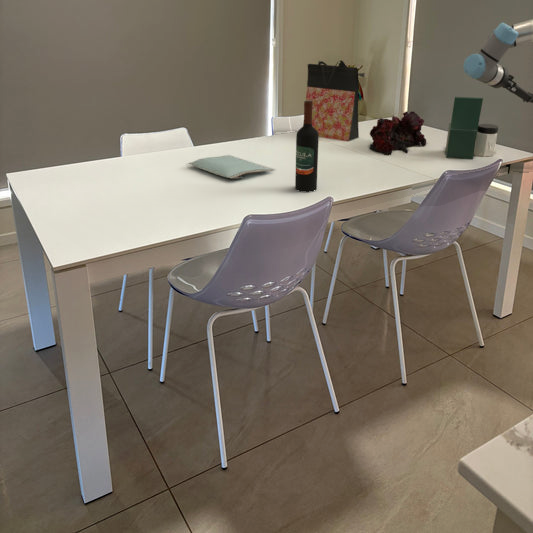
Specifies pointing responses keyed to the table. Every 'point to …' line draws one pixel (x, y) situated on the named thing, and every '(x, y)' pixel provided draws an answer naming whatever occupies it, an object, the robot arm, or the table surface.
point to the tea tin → (460, 143)
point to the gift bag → (334, 100)
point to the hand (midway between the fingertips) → (522, 89)
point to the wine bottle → (307, 153)
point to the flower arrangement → (397, 134)
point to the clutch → (228, 166)
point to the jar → (485, 140)
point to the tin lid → (466, 113)
